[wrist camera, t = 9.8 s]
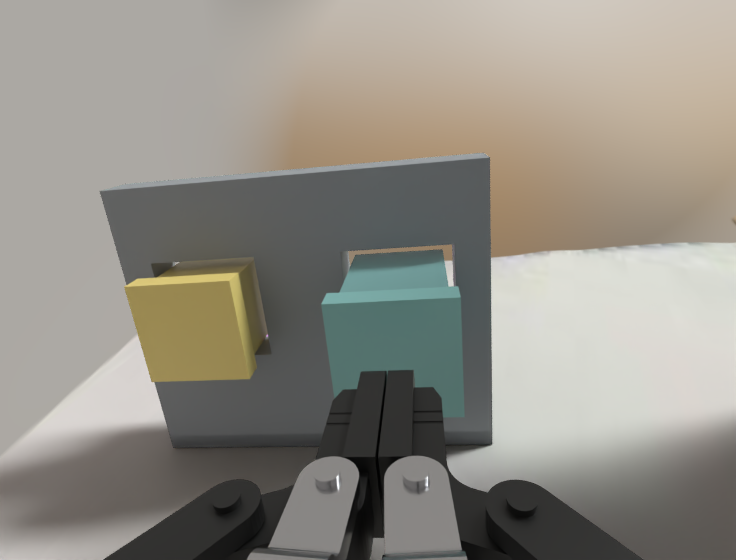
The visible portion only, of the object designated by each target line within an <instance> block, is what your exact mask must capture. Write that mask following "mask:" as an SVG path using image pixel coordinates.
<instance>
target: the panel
mask: <svg viewBox="0 0 736 560" xmlns="http://www.w3.org/2000/svg"><path fill="white" fill-rule="evenodd" d="M100 194H101V197H102V201H103V204H104V208H105V211H106V215H107V218H108V221H109V225H110V229H111V232H112V236H113V239H114V242H115V246H116V250H117V253H118V257H119V260H120V263H121V267H122V270H123V274H124V277H125V281H126V284H127V285H128V284H130V283H131V282H133V281H135V280H136V279H140V278H157V277H158V276H160V275H161V274H163V273H164V272H166V271H167V270H169V269H170V268H172V267H173V266H175V263H174V262H184V261H200V260H215V259H231V258H246V257H254V262H255V268H256V273H257V278H258V284H259V289H260V295H261V300H262V305H263V311H264V316H265V321H266V327H267V332H268V336H267V337H266V338H265V339H264V341H263V342H262V344H261V345H260V347H259V348H258V350H257V351H256V353H255V354H254V355H255V360H256V365H257V368H256V370H255V371H254V373H253V375H252V376H251V378H250V379H237V380H203V381H170V382H155V385H156V389H157V392H158V396H159V399H160V403H161V406H162V410H163V413H164V417H165V420H166V424H167V427H168V431H169V434H170V438H171V441H172V445H173V448H193V447H286V446H320V442H321V439H322V436H323V432H324V429H325V426H326V422H327V418H328V415H329V411H330V408H331V405H332V401H333V400H334V392H333V385H332V378H331V371H330V363H329V356H328V349H327V342H326V335H325V328H324V321H323V314H322V306H321V304H322V302H323V300H324V298H325V296H326V294H327V293H339V292H340V290H341V288H342V285H343V283H344V281H345V278H346V276H347V273H348V271H349V269H350V264H349V256H348V251H355V250H370V249H387V248H400V247H401V248H402V247H418V246H431V245H432V246H433V245H449V244H452V251H453V280H454V286H458V287H459V292H460V296H461V320H462V352H463V383H464V414H465V417H444V418H443V423H444V435H445V445H472V444H492V354H491V247H490V246H491V242H490V241H491V239H490V157H489V156H487V155H486V154H484V153H475V154H464V155H453V156H441V157H430V158H419V159H407V160H396V161H384V162H373V163H361V164H350V165H340V166H328V167H316V168H304V169H294V170H282V171H270V172H259V173H248V174H237V175H225V176H214V177H202V178H191V179H179V180H168V181H156V182H146V183H134V184H125V185H121V186H117V187H114V188H110V189H106V190H103V191H100Z"/></svg>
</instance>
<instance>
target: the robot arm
mask: <svg viewBox="0 0 736 560" xmlns="http://www.w3.org/2000/svg"><path fill="white" fill-rule="evenodd" d="M384 534H385V555H383V557H382V560H643V559H642V558H640V557H639V556H638V555H636V554H635V553H633V552H632V551H631V550H629V549H628V548H626V547H625V546H624V545H622V544H621V543H619V542H618V541H617V540H615V539H614V538H612V537H611V536H610V535H608V534H607V533H605V532H604V531H603V530H601V529H600V528H598V527H597V526H596V525H594V524H593V523H591V522H590V521H589V520H587V519H586V518H584V517H583V516H582V515H580V514H579V513H577V512H576V511H575V510H573V509H572V508H570V507H569V506H568V505H566V504H565V503H564V502H562V501H561V500H559V499H558V498H557V497H555V496H554V495H552V494H551V493H550V492H548V491H547V490H545V489H544V488H542V487H541V486H539V485H536V484H534V483H531V482H528V481H523V480H508V481H503V482H500V483H498V484H496V485H495V486H493V487H492V488H491V489H490V490H489V492H488V493H487V492H483V491H480V490H476V489H473V488H470V487H468V486H466V485H464V484H462V483H460V482H459V481H458V480H457V479H455V478H454V477H453V475H452V474H451V473H450V471H449V469H448V467H447V461H446V448H445V435H444V423H443V410H442V398H441V396H440V395H439V394H438V393H437V391H436V390H435V389H434V387H415V378H414V370H388V375H387V371H361V373H360V377H359V382H358V387H357V389H343V390H342V391H341V392H340V393H339V394H338V395H337V396H336V398H335V399H334V400H333V401H332V405H331V408H330V411H329V415H328V418H327V422H326V426H325V429H324V432H323V436H322V439H321V442H320V446H319V449H318V453H317V456H316V460H315V461H313V462H311V463H310V464H308V465H307V466H306V467H305V468H304V469H303V470H302V471H301V472H300V474H299V476H298V478H297V481H296V483H295V485H293V486H291V487H288V488H285V489H282V490H279V491H275V492H271V493H267V494H263V495H261V494H260V490H259V488H258V487H257V485H256V484H254V483H253V482H251V481H248V480H241V479H237V480H230V481H226V482H223V483H221V484H218V485H216V486H215V487H213V488H211V489H210V490H208V491H207V492H205V493H204V494H202V495H201V496H199V497H198V498H196V499H195V500H193V501H192V502H190V503H189V504H187V505H186V506H184V507H182V508H181V509H179V510H178V511H176V512H175V513H173V514H172V515H170V516H169V517H167V518H166V519H164V520H163V521H161V522H160V523H158V524H157V525H155V526H154V527H152V528H151V529H149V530H148V531H146V532H145V533H143V534H141V535H140V536H138V537H137V538H135V539H134V540H132V541H131V542H129V543H128V544H126V545H125V546H123V547H122V548H120V549H119V550H117V551H116V552H114V553H113V554H111V555H110V556H108V557H107V558H105V559H104V560H370V557H371V551H372V542H373V538H384Z"/></svg>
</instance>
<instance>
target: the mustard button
mask: <svg viewBox="0 0 736 560" xmlns="http://www.w3.org/2000/svg"><path fill="white" fill-rule="evenodd" d="M124 288H125V291H126V295H127V298H128V301H129V305H130V308H131V312H132V315H133V319H134V322H135V326H136V329H137V333H138V336H139V340H140V343H141V346H142V350H143V353H144V357H145V360H146V364H147V367H148V371H149V374H150V378H151V381H152V382H170V381H203V380H237V379H250V378H251V376H252V375H253V373H254V371H255V370H256V368H257V365H256V360H255V355H254V354H255V353H256V351H257V350H258V348H259V347H260V345H261V344H262V342H263V341H264V339H265V338H266V336H267V334H268V332H267V327H266V321H265V316H264V311H263V305H262V300H261V295H260V289H259V284H258V278H257V273H256V268H255V262H254V257H246V258H231V259H215V260H200V261H184V262H180V263H178V264H176V265H175V266H173V267H172V268H170V269H169V270H167V271H166V272H164V273H163V274H161V275H160V276H158V277H157V278H140V279H136V280H135V281H133V282H131V283H130V284H128V285H126V286H125V287H124Z"/></svg>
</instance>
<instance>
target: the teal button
mask: <svg viewBox="0 0 736 560" xmlns="http://www.w3.org/2000/svg"><path fill="white" fill-rule="evenodd" d="M321 306H322V314H323V321H324V328H325V335H326V342H327V349H328V356H329V363H330V371H331V378H332V385H333V392H334V399H335V398H336V396H337V395H338V394H339V393H340V392H341V391H342V390H343V389H357V387H358V382H359V377H360V373H361V371H387V375H388V370H414V378H415V387H434V389H435V390H436V391H437V393H438V394H439V395H440V396H441V398H442V410H443V418H444V417H465V414H464V383H463V352H462V320H461V296H460V292H459V287H458V286H454V287H448V281H447V275H446V268H445V262H444V257H443V250H442V249H441V250H427V251H426V250H425V251H409V252H393V253H377V254H361V255H355V257H354V259H353V262H352V264H351V266H350V269H349V271H348V273H347V276H346V278H345V281H344V283H343V285H342V288H341V290H340V292H339V293H327V294H326V296H325V298H324V300H323V302H322V304H321Z"/></svg>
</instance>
